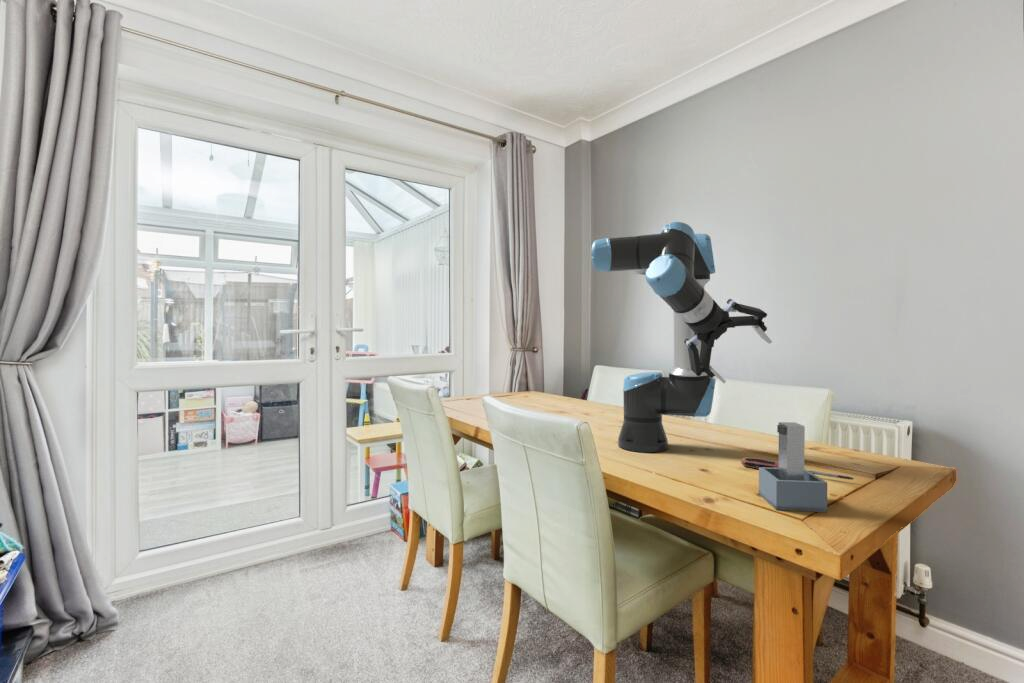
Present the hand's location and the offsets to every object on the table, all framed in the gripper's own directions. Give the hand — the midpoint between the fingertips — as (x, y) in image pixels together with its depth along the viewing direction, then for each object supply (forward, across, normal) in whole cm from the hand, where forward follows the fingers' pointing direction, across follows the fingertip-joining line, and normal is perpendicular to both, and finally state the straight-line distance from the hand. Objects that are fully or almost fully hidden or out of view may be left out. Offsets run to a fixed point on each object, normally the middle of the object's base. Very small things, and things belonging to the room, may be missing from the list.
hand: (744, 360), depth 112 cm
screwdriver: (+31, -11, -12) cm, 35 cm away
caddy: (+14, -15, -25) cm, 32 cm away
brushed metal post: (+13, -15, -25) cm, 32 cm away
